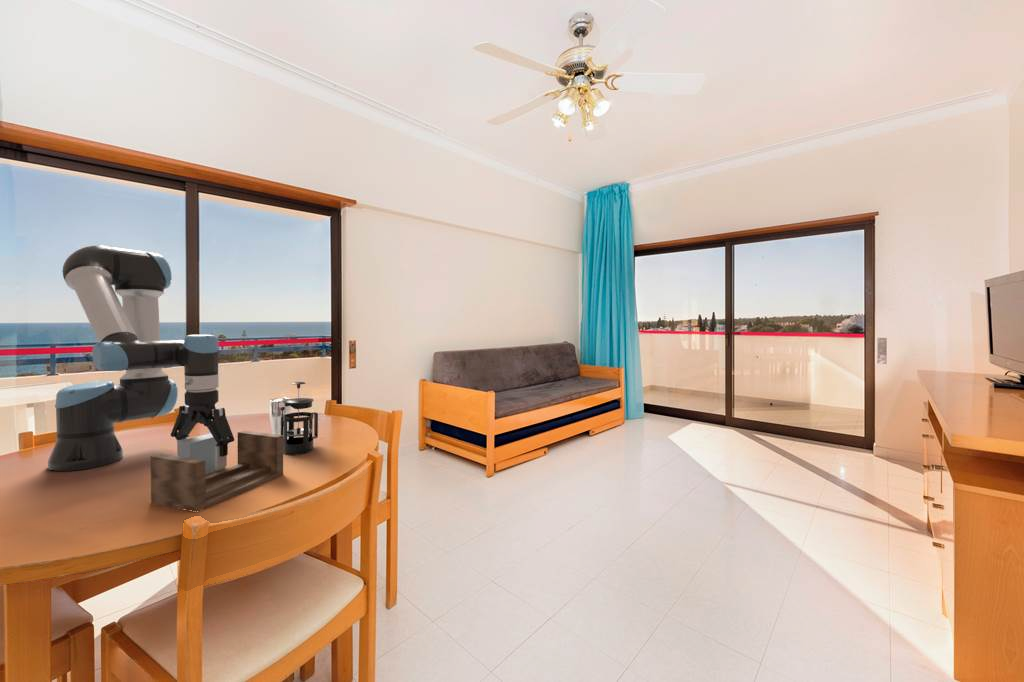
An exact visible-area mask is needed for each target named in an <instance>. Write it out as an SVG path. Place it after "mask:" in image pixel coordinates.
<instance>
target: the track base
mask: <svg viewBox="0 0 1024 682" xmlns="http://www.w3.org/2000/svg"><path fill="white" fill-rule="evenodd" d="M283 475H284V454H283V435H276V434H272V433H266V432H258V431H250V430H241V431H238V432H237V464H236V465H234V466H233V465H232V466H230V467H228V468H226V469H225V468H224V469H221V470H218V471H217V472H216V471H215V472H213V473H210V474H209V475H208V474H207V475H205V461H204V460H198V459H191V458H184V457H178V456H177V455H171V454H170V455H169V454H164V453H158V454H154V455H152V456H150V503H151V505H156V506H161V505H163V506H162V507H166V506H169V507H168V508H171V507H174V508H173V509H176V508H179V509H178V510H181V509H186V510H192V511H196V512H197V511H199V512H201V511H203V510H205V509H208V508H210V507H212V506H215V505H218V504H219V503H221V502H224V501H226V500H228V499H230V498H233V497H235V496H237V495H239V494H240V495H241V494H242V493H244V492H247V491H249V490H251V489H253V488H256V487H258V486H260V485H262V484H265V483H267V482H269V481H271V480H275V479H276V478H278V477H281V476H283ZM202 509H203V510H202ZM186 510H185V511H186ZM200 510H201V511H200ZM196 512H195V513H196ZM197 513H198V512H197Z"/></svg>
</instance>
